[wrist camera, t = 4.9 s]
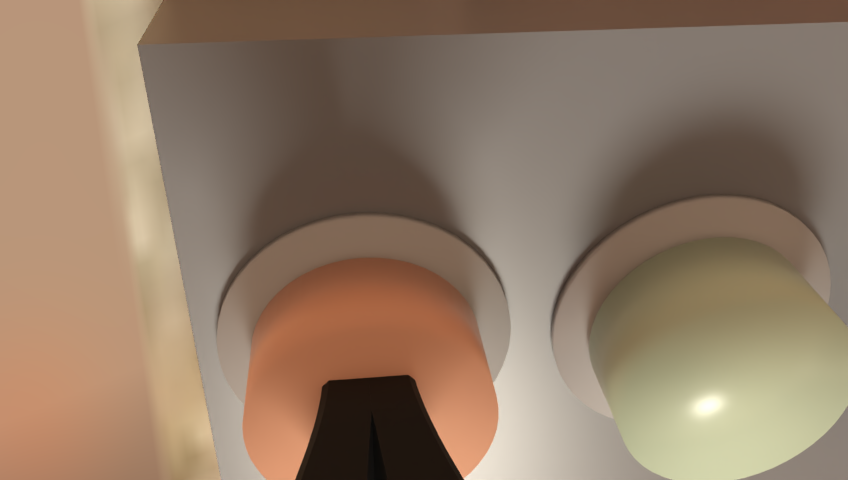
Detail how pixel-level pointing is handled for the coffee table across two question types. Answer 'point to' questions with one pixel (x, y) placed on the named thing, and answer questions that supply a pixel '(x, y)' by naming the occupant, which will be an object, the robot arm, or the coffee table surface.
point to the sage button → (719, 360)
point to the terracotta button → (366, 357)
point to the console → (497, 176)
